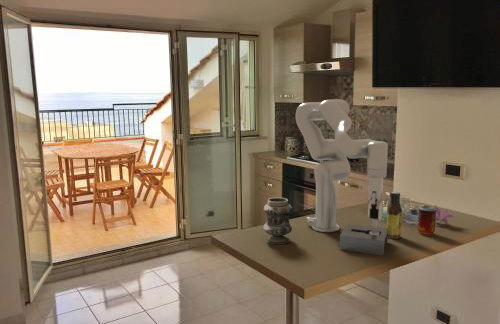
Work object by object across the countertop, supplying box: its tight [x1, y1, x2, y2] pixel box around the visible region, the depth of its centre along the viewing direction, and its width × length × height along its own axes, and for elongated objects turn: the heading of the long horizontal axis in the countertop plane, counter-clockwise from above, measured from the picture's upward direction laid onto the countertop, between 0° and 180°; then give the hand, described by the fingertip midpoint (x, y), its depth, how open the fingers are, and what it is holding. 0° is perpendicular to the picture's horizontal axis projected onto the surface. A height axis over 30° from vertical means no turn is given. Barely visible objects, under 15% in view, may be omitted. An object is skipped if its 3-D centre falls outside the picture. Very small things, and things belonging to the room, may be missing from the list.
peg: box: [367, 201, 384, 236], centre depth 174 cm, size 5×5×14 cm
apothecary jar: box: [263, 197, 293, 245], centre depth 183 cm, size 12×12×18 cm
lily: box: [433, 205, 458, 224], centre depth 204 cm, size 12×12×10 cm
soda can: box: [417, 205, 436, 237], centre depth 191 cm, size 7×7×12 cm
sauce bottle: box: [385, 191, 403, 240], centre depth 187 cm, size 7×6×20 cm
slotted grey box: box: [339, 223, 389, 256], centre depth 177 cm, size 17×16×6 cm
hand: (374, 216), depth 174 cm, fingers closed on peg, 5 cm apart
